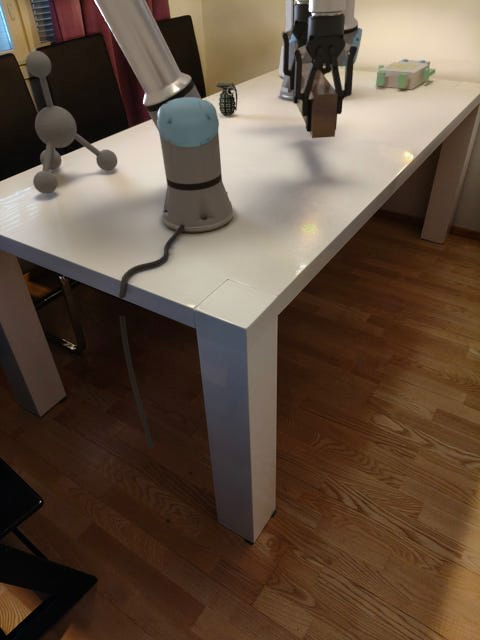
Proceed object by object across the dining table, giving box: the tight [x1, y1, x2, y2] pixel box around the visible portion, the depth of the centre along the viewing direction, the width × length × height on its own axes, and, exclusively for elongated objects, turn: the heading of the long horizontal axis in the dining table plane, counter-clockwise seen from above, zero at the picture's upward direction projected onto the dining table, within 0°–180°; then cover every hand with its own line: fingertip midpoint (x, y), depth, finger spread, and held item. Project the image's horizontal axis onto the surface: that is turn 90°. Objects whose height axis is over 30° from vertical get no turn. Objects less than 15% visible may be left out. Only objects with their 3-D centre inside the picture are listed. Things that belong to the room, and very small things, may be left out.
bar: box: [296, 63, 338, 139], centre depth 122 cm, size 34×5×9 cm, turn 2°
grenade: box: [215, 82, 238, 117], centre depth 166 cm, size 7×6×10 cm
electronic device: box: [278, 0, 295, 79], centre depth 202 cm, size 12×8×30 cm, turn 105°
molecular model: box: [25, 50, 118, 195], centre depth 121 cm, size 24×22×30 cm
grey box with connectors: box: [375, 58, 437, 90], centre depth 192 cm, size 26×6×20 cm
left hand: (320, 129), depth 114 cm, fingers closed on bar, 5 cm apart
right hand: (305, 101), depth 135 cm, fingers closed on bar, 5 cm apart
